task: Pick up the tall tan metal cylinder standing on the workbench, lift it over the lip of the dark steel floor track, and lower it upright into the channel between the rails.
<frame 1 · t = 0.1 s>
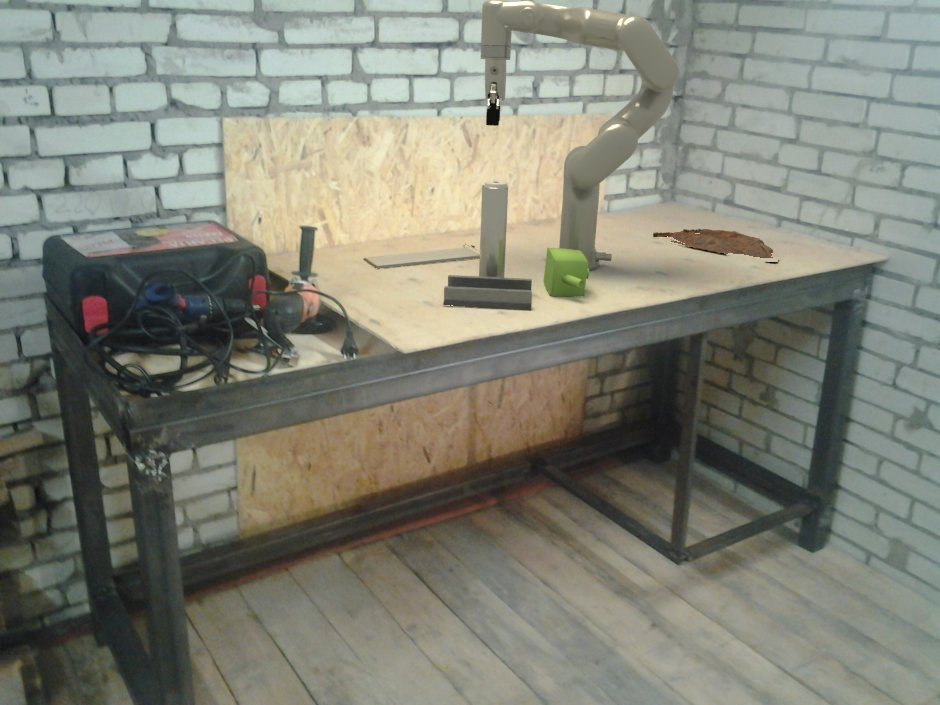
hand: (493, 123, 225), 37 cm above the workbench, tool pointing down, fingers open, 9 cm apart
lime handled box: (567, 292, 214), on the workbench
floor track: (488, 299, 206), on the workbench
baseboard: (422, 260, 240), on the workbench
tan metal cylinder: (491, 281, 221), on the workbench
brown flat irregular piece: (731, 249, 263), on the workbench
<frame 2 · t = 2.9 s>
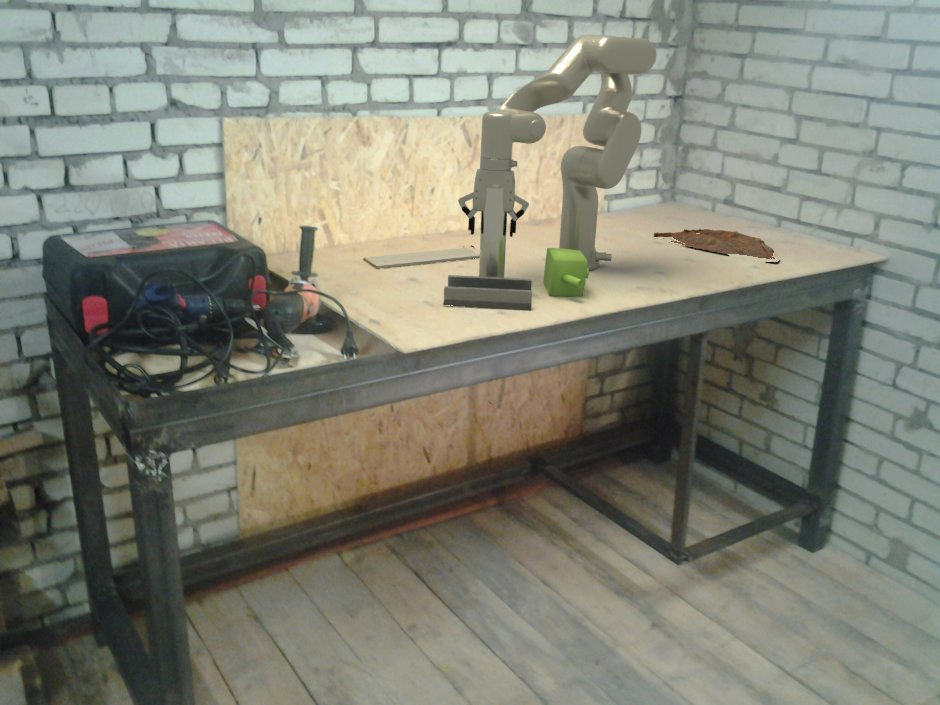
hand: (491, 234, 216), 12 cm above the workbench, tool pointing down, fingers open, 9 cm apart
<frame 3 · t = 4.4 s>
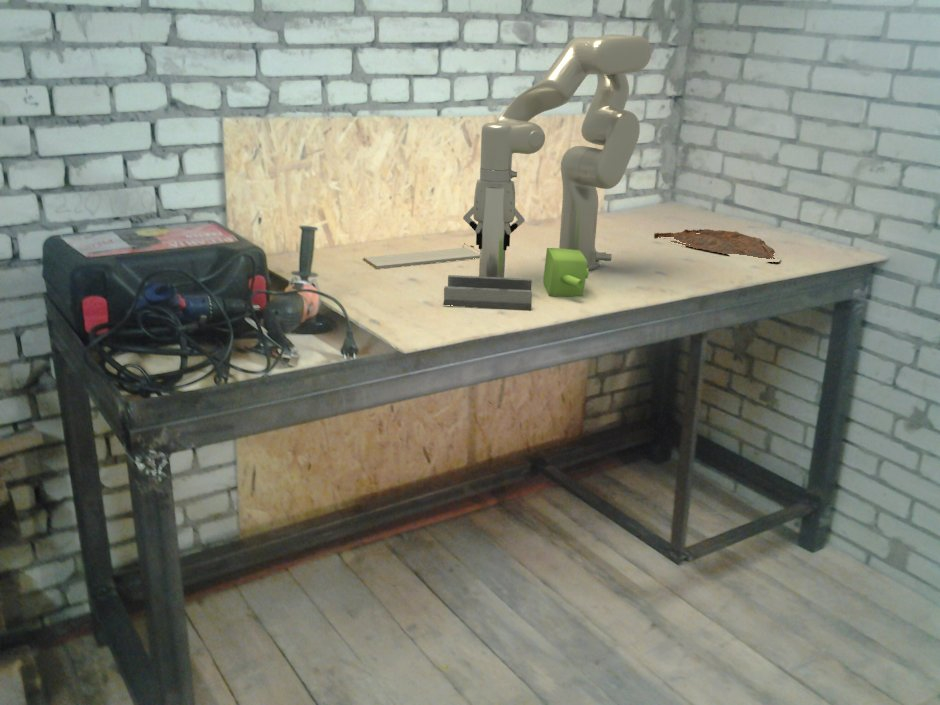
hand: (492, 247, 218), 9 cm above the workbench, tool pointing down, fingers closed on tan metal cylinder, 5 cm apart
tan metal cylinder: (491, 281, 221), on the workbench, touching gripper
everything else where it was.
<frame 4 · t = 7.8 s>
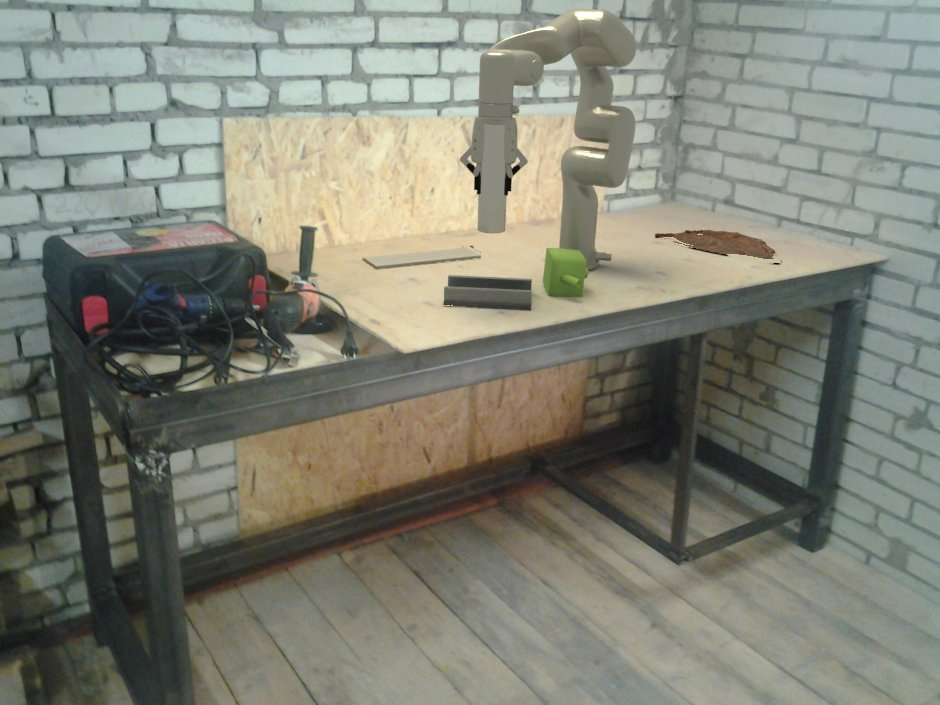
hand: (492, 193, 197), 25 cm above the workbench, tool pointing down, fingers closed on tan metal cylinder, 5 cm apart
tan metal cylinder: (491, 231, 200), point 16 cm above the workbench, touching gripper
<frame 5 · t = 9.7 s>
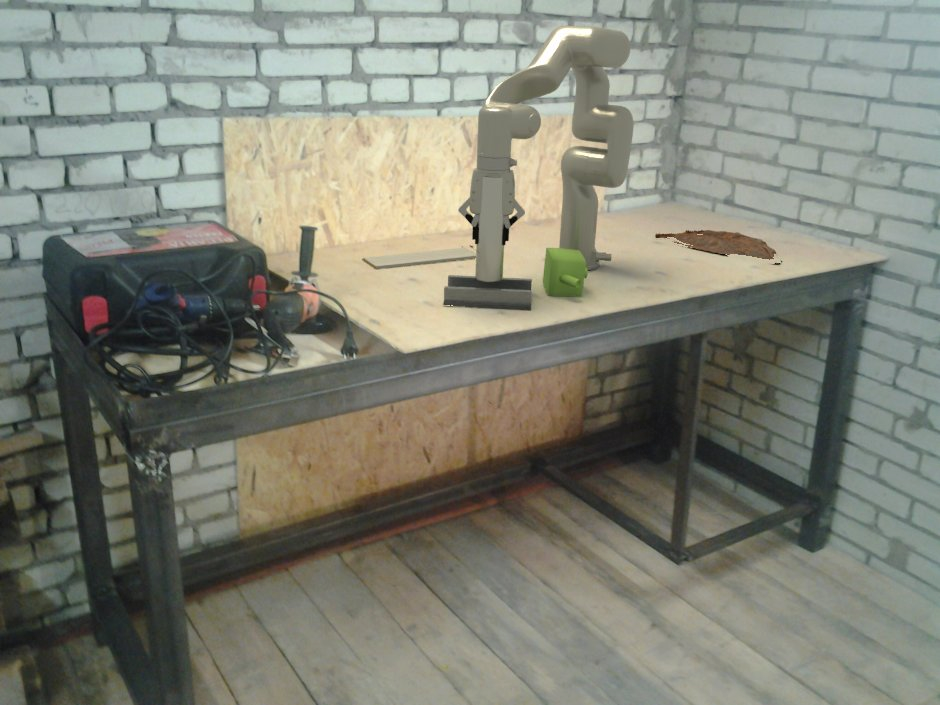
hand: (490, 242, 201), 14 cm above the workbench, tool pointing down, fingers closed on tan metal cylinder, 5 cm apart
tan metal cylinder: (489, 279, 204), point 5 cm above the workbench, touching gripper
when the fingers open (11 cm above the workbench, at t = 11.2 s): tan metal cylinder drops 1 cm, resting on floor track.
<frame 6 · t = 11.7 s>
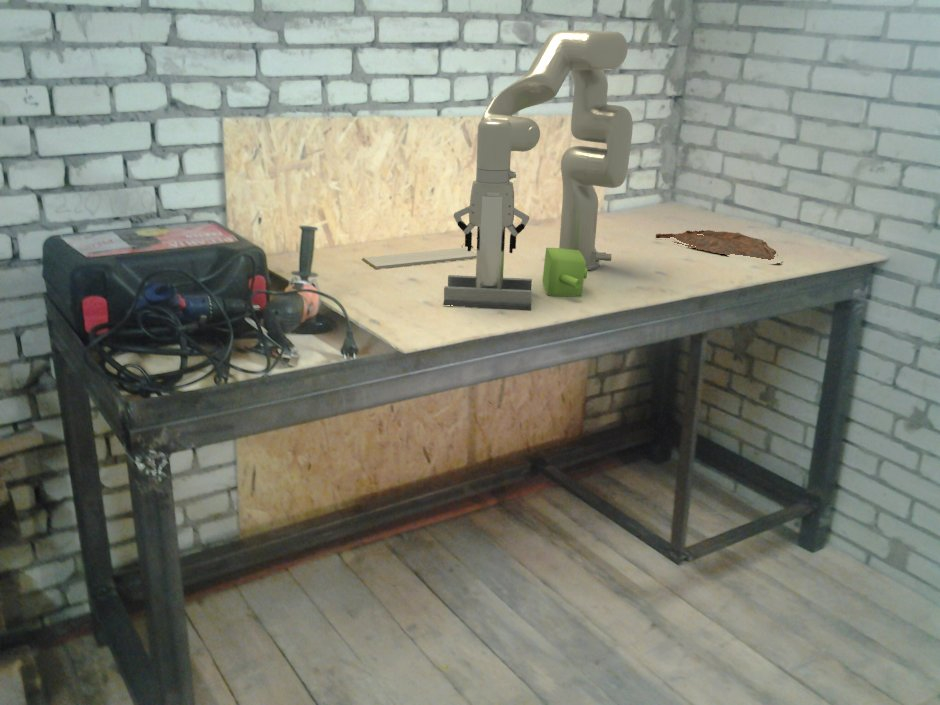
hand: (490, 250, 201), 12 cm above the workbench, tool pointing down, fingers open, 9 cm apart
tan metal cylinder: (488, 296, 206), point 1 cm above the workbench, touching floor track
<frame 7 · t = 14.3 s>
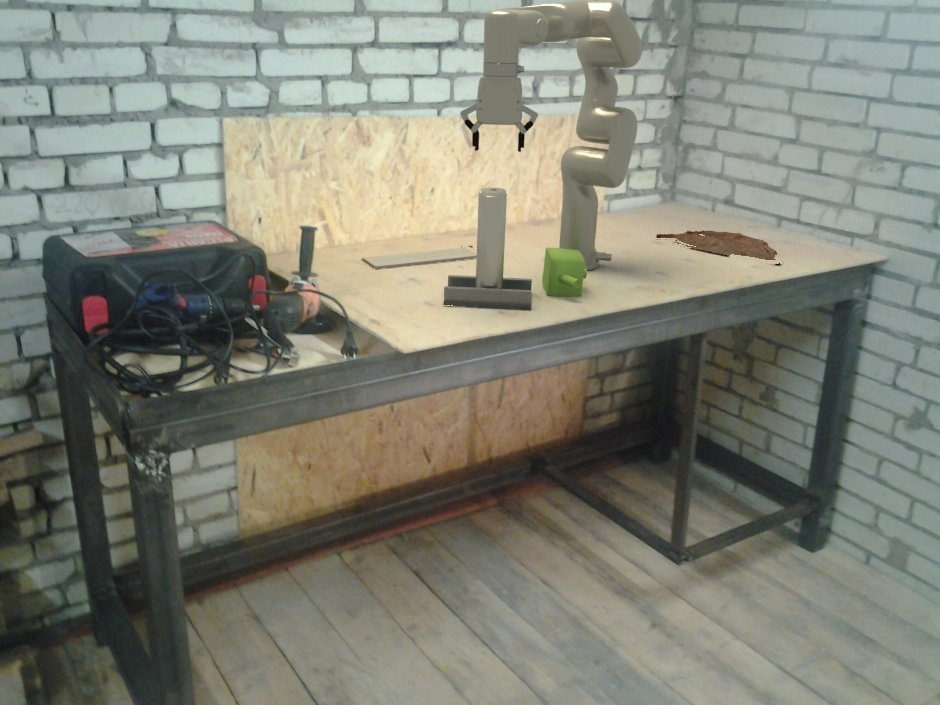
hand: (498, 150, 197), 34 cm above the workbench, tool pointing down, fingers open, 9 cm apart
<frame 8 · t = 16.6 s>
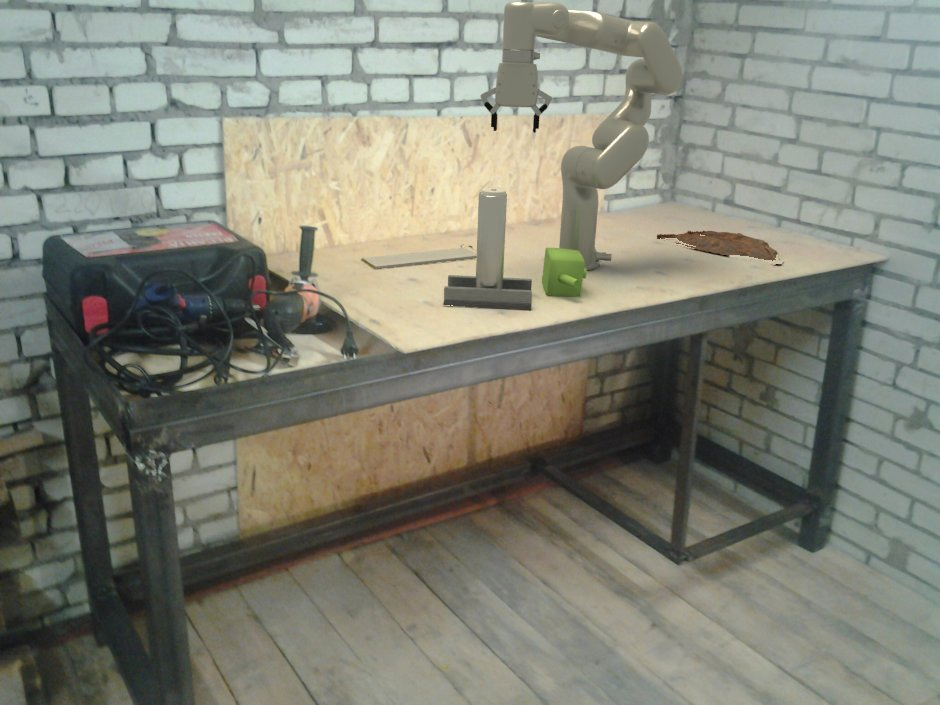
hand: (514, 131, 214), 36 cm above the workbench, tool pointing down, fingers open, 9 cm apart
at the end: tan metal cylinder inside the target area on the floor track (0.2 cm from its centre), point 0.8 cm above the floor track's base; tan metal cylinder tilted 1°; the gripper is holding nothing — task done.
